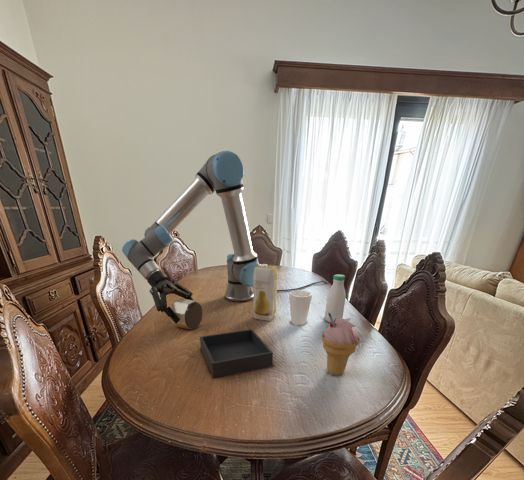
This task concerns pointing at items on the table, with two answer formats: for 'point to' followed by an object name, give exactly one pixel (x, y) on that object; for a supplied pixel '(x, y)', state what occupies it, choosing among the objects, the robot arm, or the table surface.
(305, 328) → the table surface
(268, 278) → the juice carton
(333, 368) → the ice cream cone
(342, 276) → the milk bottle
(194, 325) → the pot
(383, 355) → the table surface
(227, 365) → the tray
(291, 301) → the foam cup
